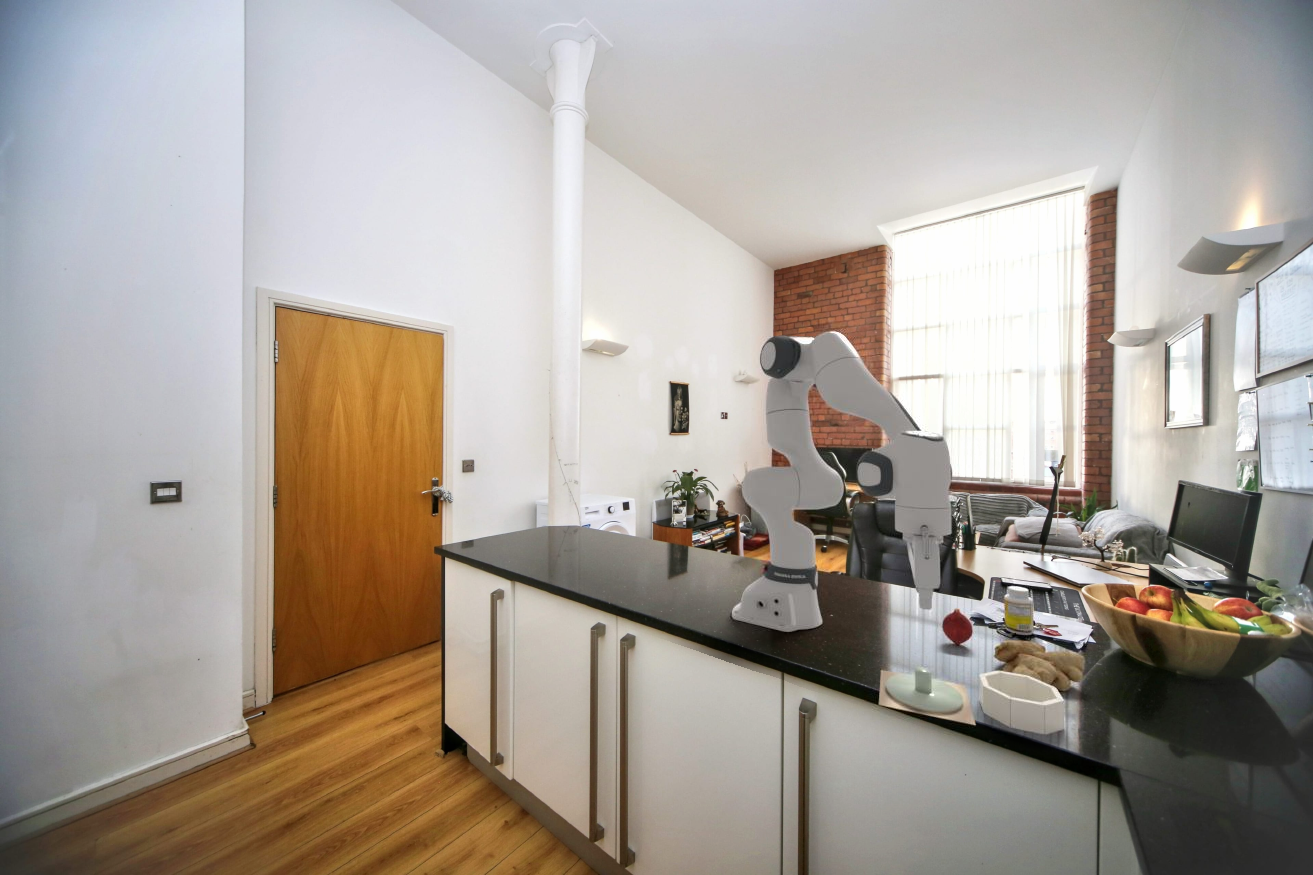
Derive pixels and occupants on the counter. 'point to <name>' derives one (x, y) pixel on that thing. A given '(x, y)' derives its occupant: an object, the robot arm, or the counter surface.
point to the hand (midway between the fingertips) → (923, 599)
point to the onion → (957, 627)
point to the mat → (960, 716)
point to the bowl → (1022, 702)
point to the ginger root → (1041, 663)
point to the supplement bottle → (1018, 611)
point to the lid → (924, 692)
